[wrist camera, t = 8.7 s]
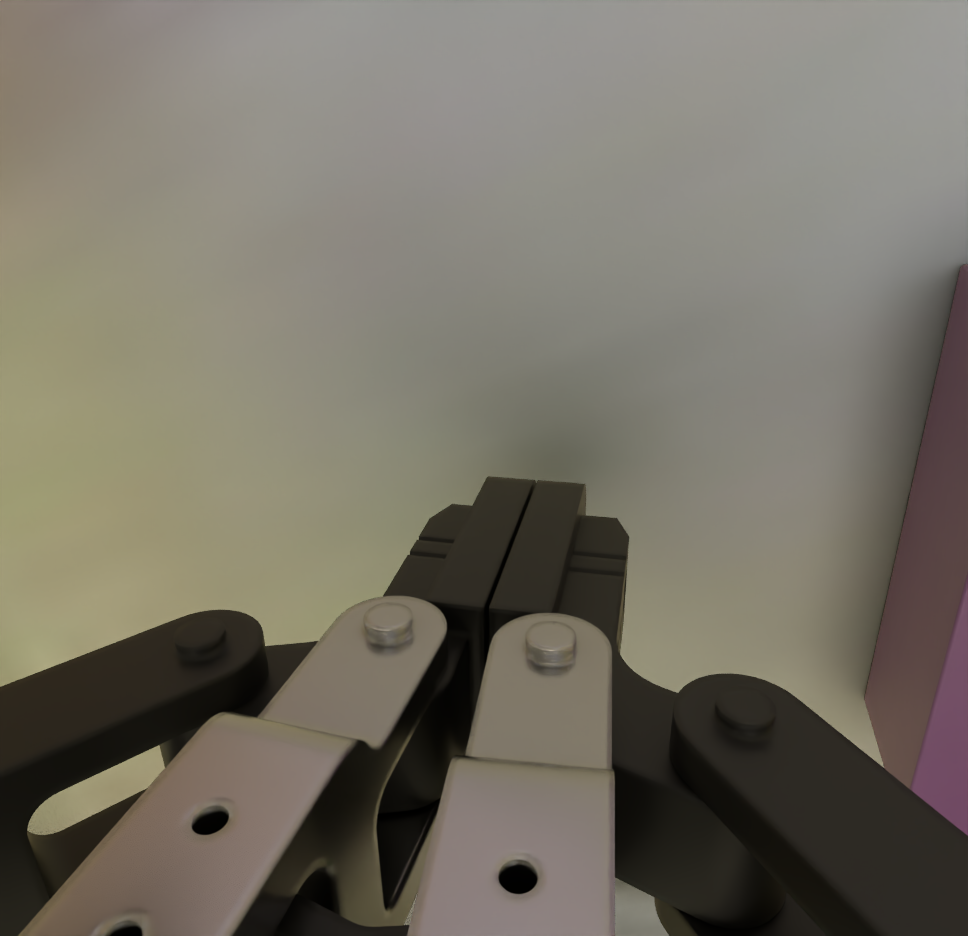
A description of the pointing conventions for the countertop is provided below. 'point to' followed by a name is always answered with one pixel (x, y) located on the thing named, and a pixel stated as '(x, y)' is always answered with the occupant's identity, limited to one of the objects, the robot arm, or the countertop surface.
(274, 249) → the countertop surface
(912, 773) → the plum block
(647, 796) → the robot arm
